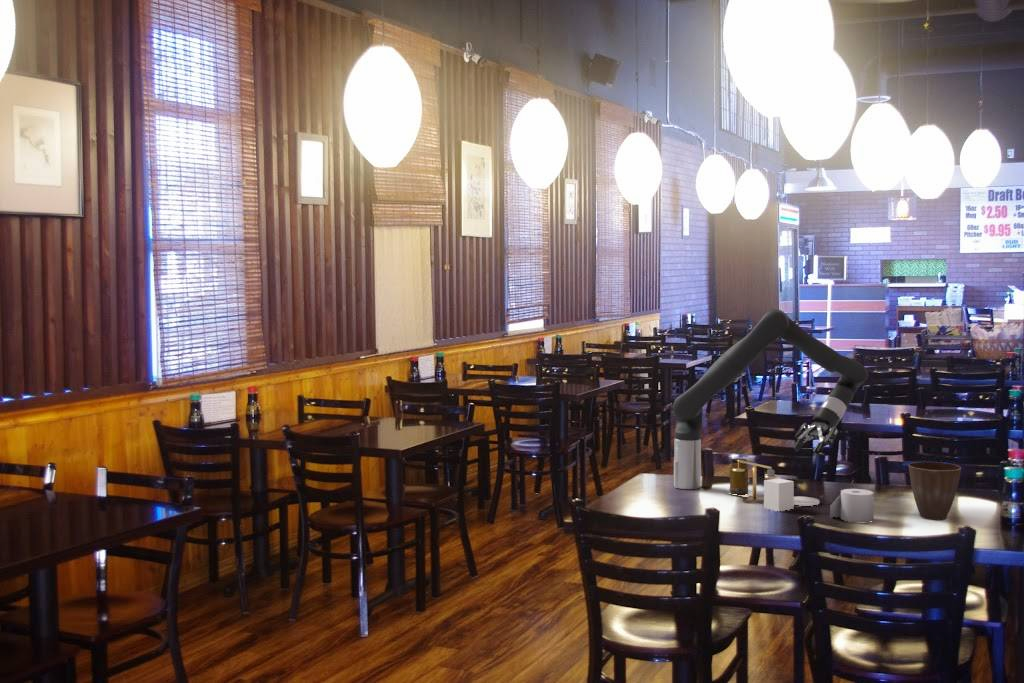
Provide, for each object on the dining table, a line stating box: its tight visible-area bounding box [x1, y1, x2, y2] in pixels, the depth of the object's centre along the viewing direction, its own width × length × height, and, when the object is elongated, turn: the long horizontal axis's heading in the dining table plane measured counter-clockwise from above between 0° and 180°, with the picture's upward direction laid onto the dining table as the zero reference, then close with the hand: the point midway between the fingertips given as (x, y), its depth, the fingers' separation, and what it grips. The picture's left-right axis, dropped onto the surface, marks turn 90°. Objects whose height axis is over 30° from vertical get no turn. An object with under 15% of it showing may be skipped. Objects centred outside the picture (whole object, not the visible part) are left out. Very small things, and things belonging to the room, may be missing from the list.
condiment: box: [729, 458, 749, 495], centre depth 354 cm, size 7×8×12 cm
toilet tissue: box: [829, 488, 875, 523], centre depth 315 cm, size 9×13×9 cm
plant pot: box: [908, 461, 962, 521], centre depth 317 cm, size 15×15×16 cm
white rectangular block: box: [763, 477, 795, 513], centre depth 331 cm, size 6×6×9 cm
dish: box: [794, 495, 820, 507], centre depth 339 cm, size 11×11×1 cm
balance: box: [732, 460, 778, 504], centre depth 342 cm, size 15×5×14 cm, turn 85°
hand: (805, 451), depth 337 cm, fingers open, 8 cm apart
